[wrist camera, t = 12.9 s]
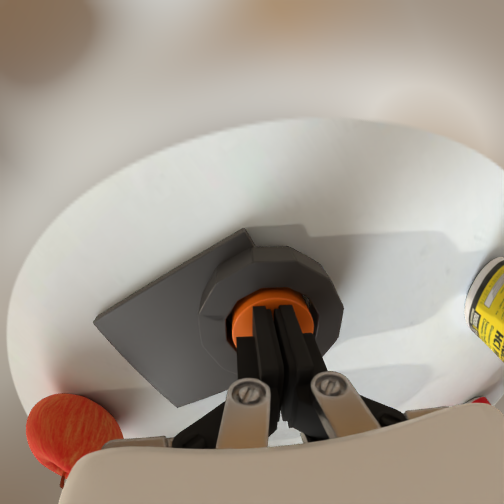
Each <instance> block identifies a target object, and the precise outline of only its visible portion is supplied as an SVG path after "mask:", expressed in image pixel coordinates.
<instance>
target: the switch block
mask: <svg viewBox="0 0 504 504" xmlns="http://www.w3.org/2000/svg"><path fill="white" fill-rule="evenodd" d="M280 287H289V288H291V289H293V290H295V291H297V292H299V293H301V294H303V295H305V296H307V297H308V298H309V311H310V314H311V316H312V319H313V323H314V331H313V336H314V338H315V340H316V343H317V345H318V348H319V350H320V353H321V355H322V357H323V356H324V354H325V353H326V352H327V351H328V350H329V349H330V347H331V346H332V345H333V344H334V343H335V341H336V340H337V338H338V337H339V332H340V327H341V321H342V316H343V310H344V308H343V304H342V302H341V300H340V298H339V296H338V294H337V292H336V290H335V288H334V285H333V283H332V281H331V279H330V278H329V276H328V275H327V274H326V272H325V271H324V269H323V268H322V266H321V265H320V264H319V263H318V262H316V261H315V260H313V259H311V258H309V257H307V256H306V255H304V254H302V253H300V252H298V251H297V250H295V249H293V248H291V247H288V246H279V247H256V246H255V244H254V243H253V241H252V239H251V238H250V236H249V235H248V233H247V231H246V230H245V228H242V229H241V230H239V231H237V232H235V233H234V234H232V235H230V236H229V237H227V238H225V239H223V240H222V241H220V242H218V243H217V244H215V245H213V246H212V247H210V248H208V249H206V250H205V251H203V252H201V253H200V254H198V255H196V256H195V257H193V258H191V259H190V260H188V261H186V262H185V263H183V264H181V265H180V266H178V267H176V268H175V269H173V270H171V271H170V272H168V273H166V274H165V275H163V276H161V277H160V278H158V279H156V280H155V281H153V282H151V283H150V284H148V285H147V286H145V287H143V288H142V289H140V290H138V291H137V292H135V293H133V294H132V295H130V296H129V297H127V298H125V299H124V300H122V301H121V302H119V303H117V304H116V305H114V306H113V307H111V308H109V309H108V310H106V311H105V312H103V313H101V314H100V315H98V316H97V317H96V318H95V320H94V321H93V324H94V325H95V326H96V327H97V328H98V330H99V331H100V332H101V333H102V334H103V335H104V336H105V338H106V339H107V340H108V341H109V342H110V343H111V344H112V345H113V346H114V347H115V349H116V350H117V351H118V352H119V353H120V354H121V355H122V356H123V357H124V358H125V359H126V360H127V361H128V362H129V363H130V364H131V365H132V366H133V367H134V368H135V369H136V370H137V371H138V372H139V373H140V374H141V375H142V376H143V377H144V378H145V379H146V380H147V381H148V382H149V383H150V384H151V385H152V386H153V387H154V388H155V389H157V390H158V391H159V392H160V393H161V394H162V395H163V396H164V397H165V398H167V399H168V400H169V401H170V402H171V403H172V404H173V405H175V406H176V407H177V408H178V407H181V406H184V405H187V404H190V403H193V402H196V401H199V400H201V399H204V398H207V397H210V396H212V395H215V394H218V393H220V392H223V391H225V390H228V389H229V387H230V385H231V384H232V383H233V382H235V381H237V380H238V372H237V348H236V346H235V344H234V342H233V338H232V309H233V307H234V306H235V304H236V303H237V301H238V300H240V299H242V298H244V297H245V296H247V295H249V294H251V293H253V292H255V291H257V290H259V289H260V288H280Z"/></svg>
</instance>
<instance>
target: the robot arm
mask: <svg viewBox="0 0 504 504" xmlns="http://www.w3.org/2000/svg"><path fill="white" fill-rule="evenodd" d="M236 346H237V372H238V380H237V381H235V382H233V383H232V384H231V385H230V387H229V389H228V391H227V396H226V401H225V402H223V403H222V404H220V405H219V406H218V407H216V408H215V409H213V410H212V411H211V412H209V413H208V414H206V415H205V416H203V417H202V418H201V419H199V420H198V421H196V422H195V423H193V424H192V425H190V426H189V427H187V428H186V429H184V430H183V431H181V432H180V433H179V434H177V435H176V436H175V437H174V438H166V436H159V437H147V438H133V439H115V440H110V441H108V442H106V443H105V444H104V445H103V446H102V448H101V450H98V451H95V452H92V453H89V454H87V455H85V456H83V457H82V458H80V459H79V460H78V461H77V462H76V464H75V465H74V466H73V468H72V470H71V472H70V473H69V475H68V478H67V480H66V482H65V485H64V487H63V490H62V493H61V496H60V499H59V503H58V504H504V415H503V414H502V413H501V412H500V411H499V410H498V409H497V408H495V407H494V406H492V405H490V404H486V403H467V404H460V405H456V406H452V407H446V406H443V407H436V408H428V409H419V410H408V411H406V412H405V413H403V414H402V413H401V412H400V411H398V410H396V409H393V408H391V407H388V406H386V405H383V404H381V403H378V402H376V401H373V400H371V399H368V398H366V397H363V396H361V395H359V394H358V392H357V391H356V389H355V388H354V387H353V385H352V384H351V382H350V381H349V379H348V378H347V377H346V376H344V375H343V374H341V373H338V372H334V371H328V370H327V368H326V365H325V363H324V360H323V358H322V355H321V353H320V350H319V348H318V345H317V343H316V340H315V338H314V336H313V334H312V333H302V331H301V328H300V325H299V322H298V320H297V317H296V314H295V311H294V309H293V306H292V305H279V308H278V309H274V320H273V317H272V313H271V309H266V306H253V309H252V336H245V337H236ZM280 410H281V414H282V419H283V421H288V426H289V428H295V429H297V430H299V431H300V432H301V433H300V434H301V438H302V441H303V444H295V445H286V446H276V447H268V437H269V436H270V435H271V434H272V433H273V432H274V431H276V430H277V422H279V419H280Z"/></svg>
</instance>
